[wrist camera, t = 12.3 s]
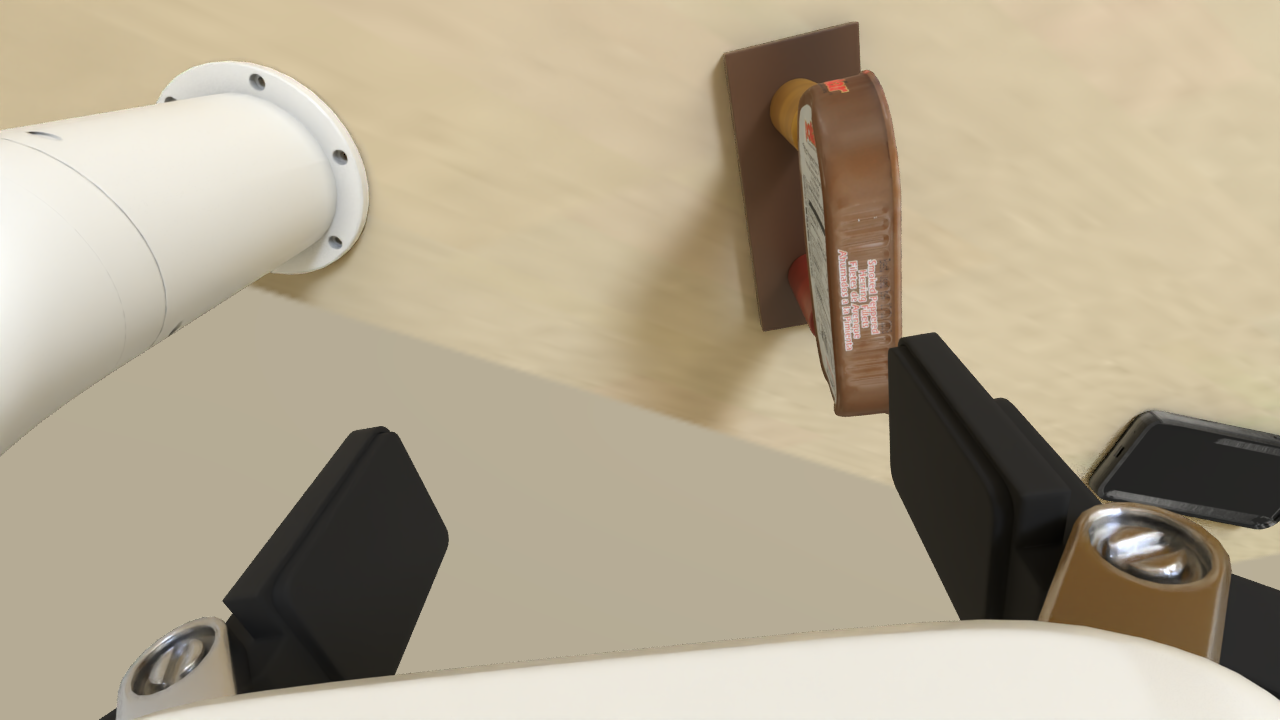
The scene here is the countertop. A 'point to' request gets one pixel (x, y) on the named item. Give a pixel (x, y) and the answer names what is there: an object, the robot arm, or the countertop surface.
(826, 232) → the tin
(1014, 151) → the countertop surface
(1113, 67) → the countertop surface
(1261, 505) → the phone
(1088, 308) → the countertop surface
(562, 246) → the countertop surface
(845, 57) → the rod stand
